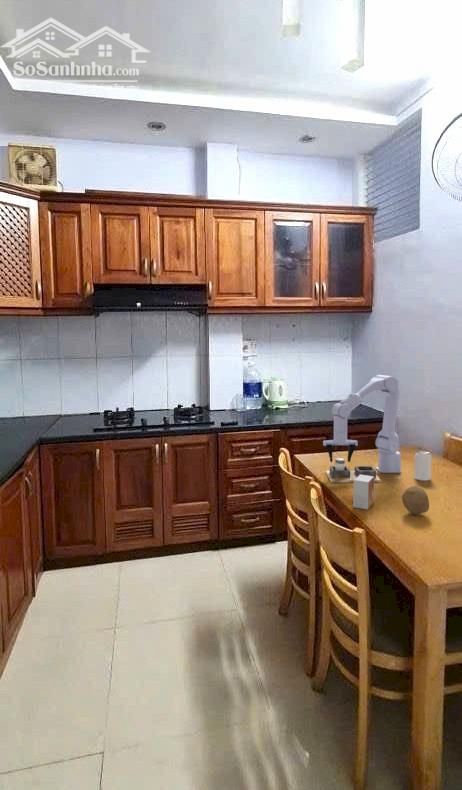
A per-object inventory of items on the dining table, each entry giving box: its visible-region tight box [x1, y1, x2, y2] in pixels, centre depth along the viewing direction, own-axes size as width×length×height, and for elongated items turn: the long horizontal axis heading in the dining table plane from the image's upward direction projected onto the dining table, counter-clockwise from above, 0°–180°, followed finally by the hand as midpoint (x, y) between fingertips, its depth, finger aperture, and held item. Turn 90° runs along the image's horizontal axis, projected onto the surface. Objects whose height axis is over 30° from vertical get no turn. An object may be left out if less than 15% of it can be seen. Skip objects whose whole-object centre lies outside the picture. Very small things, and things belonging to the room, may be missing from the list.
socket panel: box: [325, 465, 382, 483], centre depth 207 cm, size 21×14×4 cm, turn 87°
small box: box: [352, 474, 375, 510], centre depth 174 cm, size 8×6×10 cm
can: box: [413, 449, 432, 482], centre depth 203 cm, size 6×6×12 cm
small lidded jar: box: [334, 457, 346, 471], centre depth 207 cm, size 4×4×7 cm
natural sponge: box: [401, 485, 430, 516], centre depth 165 cm, size 9×9×10 cm
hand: (340, 461), depth 207 cm, fingers open, 7 cm apart
